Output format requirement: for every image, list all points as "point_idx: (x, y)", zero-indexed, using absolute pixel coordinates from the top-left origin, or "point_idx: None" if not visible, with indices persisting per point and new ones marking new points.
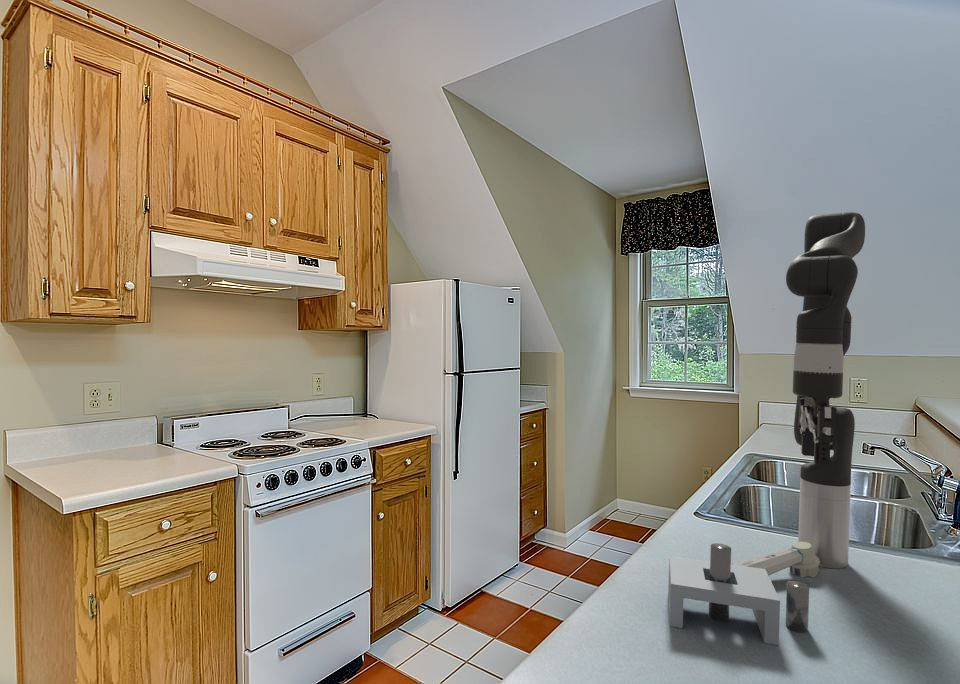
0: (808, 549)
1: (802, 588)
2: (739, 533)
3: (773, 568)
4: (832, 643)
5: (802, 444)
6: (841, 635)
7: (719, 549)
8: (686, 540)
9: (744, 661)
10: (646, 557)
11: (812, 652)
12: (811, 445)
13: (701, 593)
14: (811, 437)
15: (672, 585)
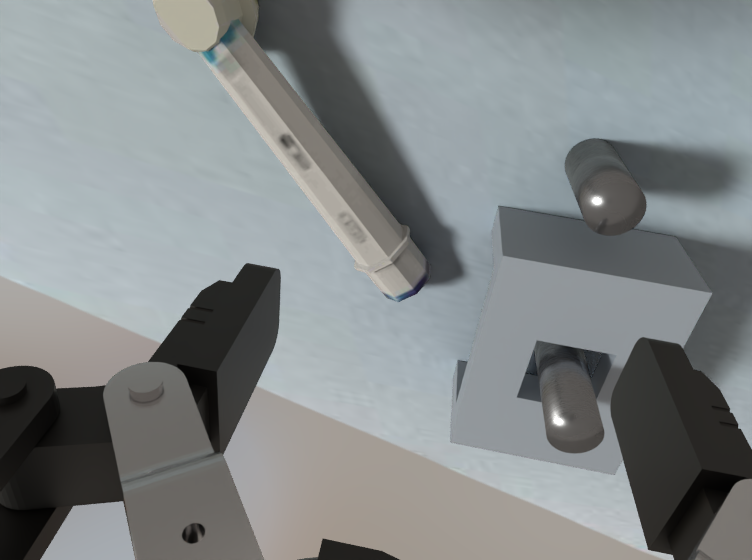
0: (213, 2)
1: (634, 204)
2: None
3: (330, 144)
4: (670, 105)
5: (248, 396)
6: (629, 60)
7: (595, 442)
8: (112, 269)
9: (733, 321)
10: (270, 378)
11: (709, 173)
12: (252, 342)
13: None
14: (223, 395)
15: (615, 470)
